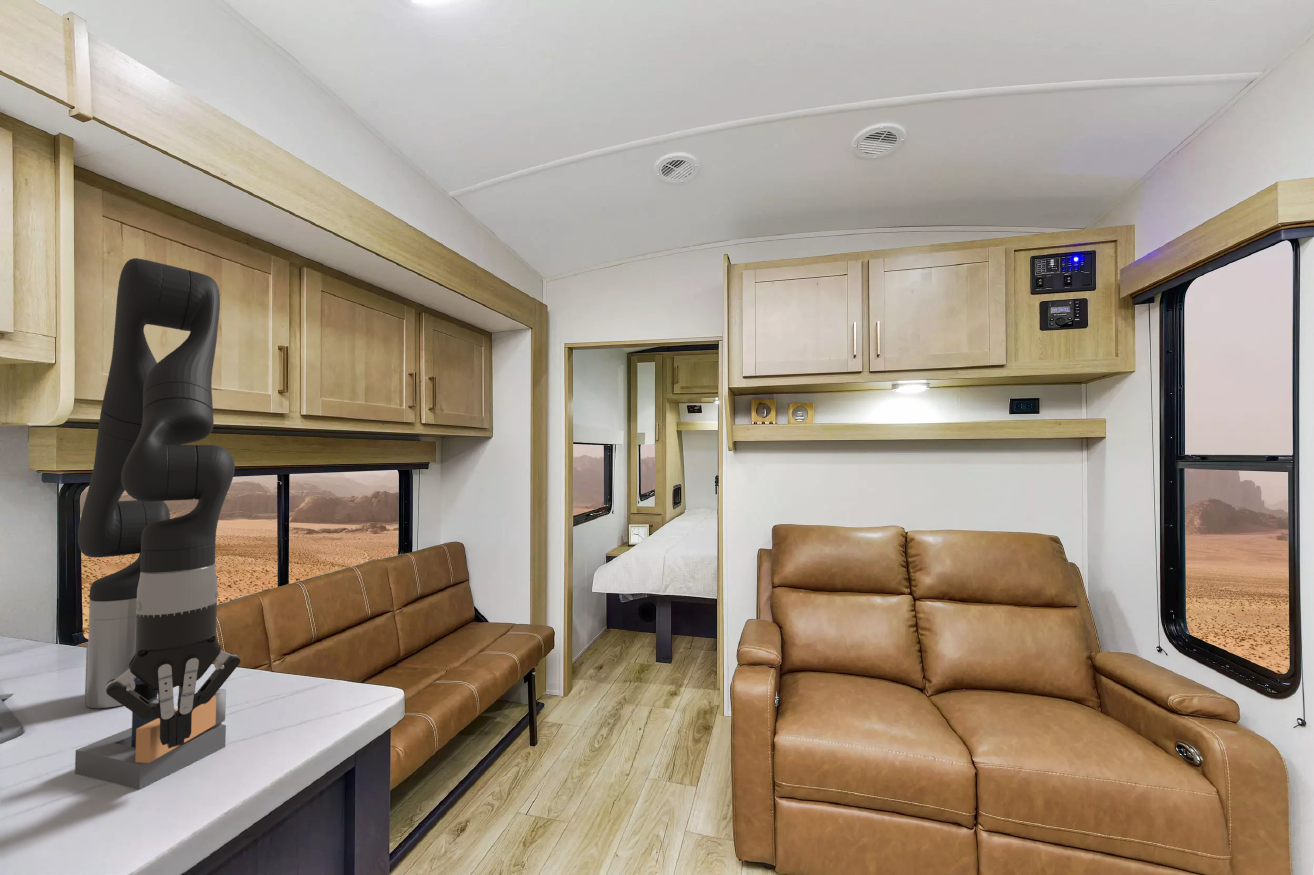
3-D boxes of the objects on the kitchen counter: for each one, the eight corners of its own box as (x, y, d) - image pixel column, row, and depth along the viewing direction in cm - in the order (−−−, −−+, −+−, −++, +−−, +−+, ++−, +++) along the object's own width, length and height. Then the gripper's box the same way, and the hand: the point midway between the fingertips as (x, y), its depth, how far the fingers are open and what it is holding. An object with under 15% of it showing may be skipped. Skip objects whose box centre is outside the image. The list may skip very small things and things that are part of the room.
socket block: (74, 773, 69) (75, 748, 69) (167, 733, 79) (168, 711, 79) (139, 789, 65) (140, 763, 66) (227, 745, 75) (228, 722, 75)
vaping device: (146, 754, 73) (149, 665, 74) (178, 757, 72) (181, 667, 73) (125, 764, 71) (127, 672, 71) (157, 768, 70) (160, 675, 70)
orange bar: (213, 717, 76) (214, 689, 76) (229, 717, 76) (230, 689, 76) (133, 762, 65) (134, 728, 65) (151, 762, 65) (152, 729, 65)
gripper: (238, 588, 74) (236, 715, 74) (101, 609, 65) (97, 755, 64) (249, 598, 69) (247, 734, 69) (103, 622, 60) (98, 780, 59)
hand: (175, 744), depth 66 cm, fingers closed
